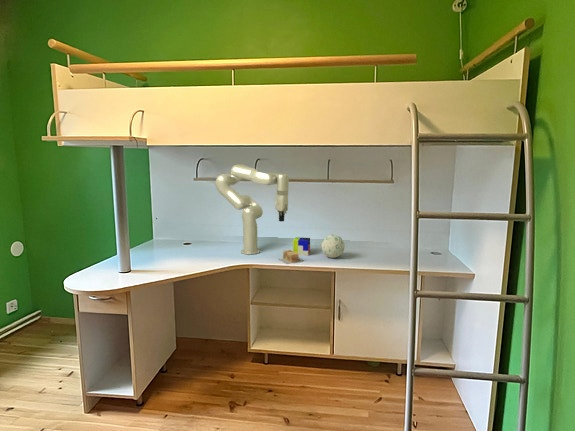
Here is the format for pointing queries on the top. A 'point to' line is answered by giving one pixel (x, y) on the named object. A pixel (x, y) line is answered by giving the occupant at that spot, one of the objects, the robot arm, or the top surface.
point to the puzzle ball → (332, 246)
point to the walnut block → (290, 256)
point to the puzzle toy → (301, 246)
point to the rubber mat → (290, 262)
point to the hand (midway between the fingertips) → (281, 221)
